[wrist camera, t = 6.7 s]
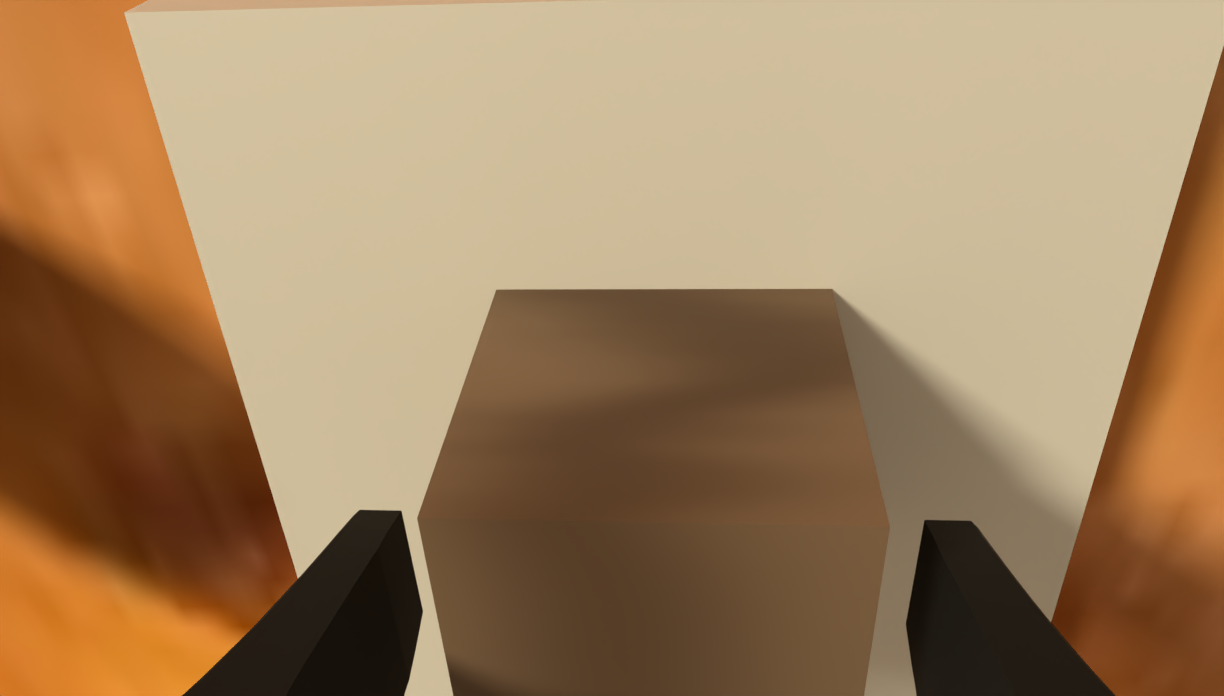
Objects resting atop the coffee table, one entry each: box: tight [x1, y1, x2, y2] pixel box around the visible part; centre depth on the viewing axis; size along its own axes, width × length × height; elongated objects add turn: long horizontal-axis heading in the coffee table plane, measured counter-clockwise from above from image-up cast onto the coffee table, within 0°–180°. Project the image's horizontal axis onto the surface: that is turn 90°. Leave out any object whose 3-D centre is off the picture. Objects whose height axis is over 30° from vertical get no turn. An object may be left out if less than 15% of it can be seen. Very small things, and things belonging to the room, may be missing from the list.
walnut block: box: [417, 289, 890, 696], centre depth 14 cm, size 5×5×5 cm
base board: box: [124, 0, 1224, 696], centre depth 17 cm, size 14×14×2 cm
